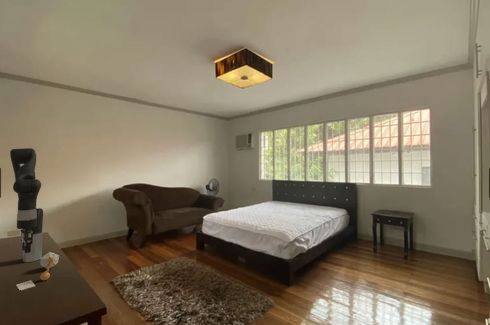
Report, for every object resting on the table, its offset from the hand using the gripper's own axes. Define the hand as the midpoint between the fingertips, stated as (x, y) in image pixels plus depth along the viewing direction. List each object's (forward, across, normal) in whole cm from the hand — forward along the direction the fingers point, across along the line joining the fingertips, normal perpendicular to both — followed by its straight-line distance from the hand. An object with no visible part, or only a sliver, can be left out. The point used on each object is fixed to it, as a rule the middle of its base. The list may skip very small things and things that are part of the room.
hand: (26, 251), depth 121 cm
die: (+18, -16, +13) cm, 27 cm away
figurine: (+18, 0, +9) cm, 20 cm away
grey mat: (+17, 0, 0) cm, 17 cm away
